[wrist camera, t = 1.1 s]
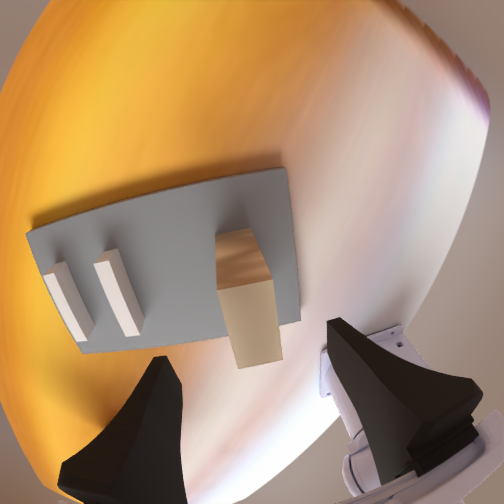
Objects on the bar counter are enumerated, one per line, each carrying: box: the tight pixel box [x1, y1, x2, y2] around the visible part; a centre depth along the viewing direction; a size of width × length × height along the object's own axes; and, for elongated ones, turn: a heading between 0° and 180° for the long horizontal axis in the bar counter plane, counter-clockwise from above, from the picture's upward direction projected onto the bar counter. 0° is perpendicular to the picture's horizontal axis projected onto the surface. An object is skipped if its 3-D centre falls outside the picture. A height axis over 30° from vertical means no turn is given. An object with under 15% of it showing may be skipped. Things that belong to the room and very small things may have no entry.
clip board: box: [26, 167, 301, 354], centre depth 18 cm, size 20×12×3 cm, turn 99°
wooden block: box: [215, 228, 283, 369], centre depth 16 cm, size 2×5×7 cm, turn 9°
